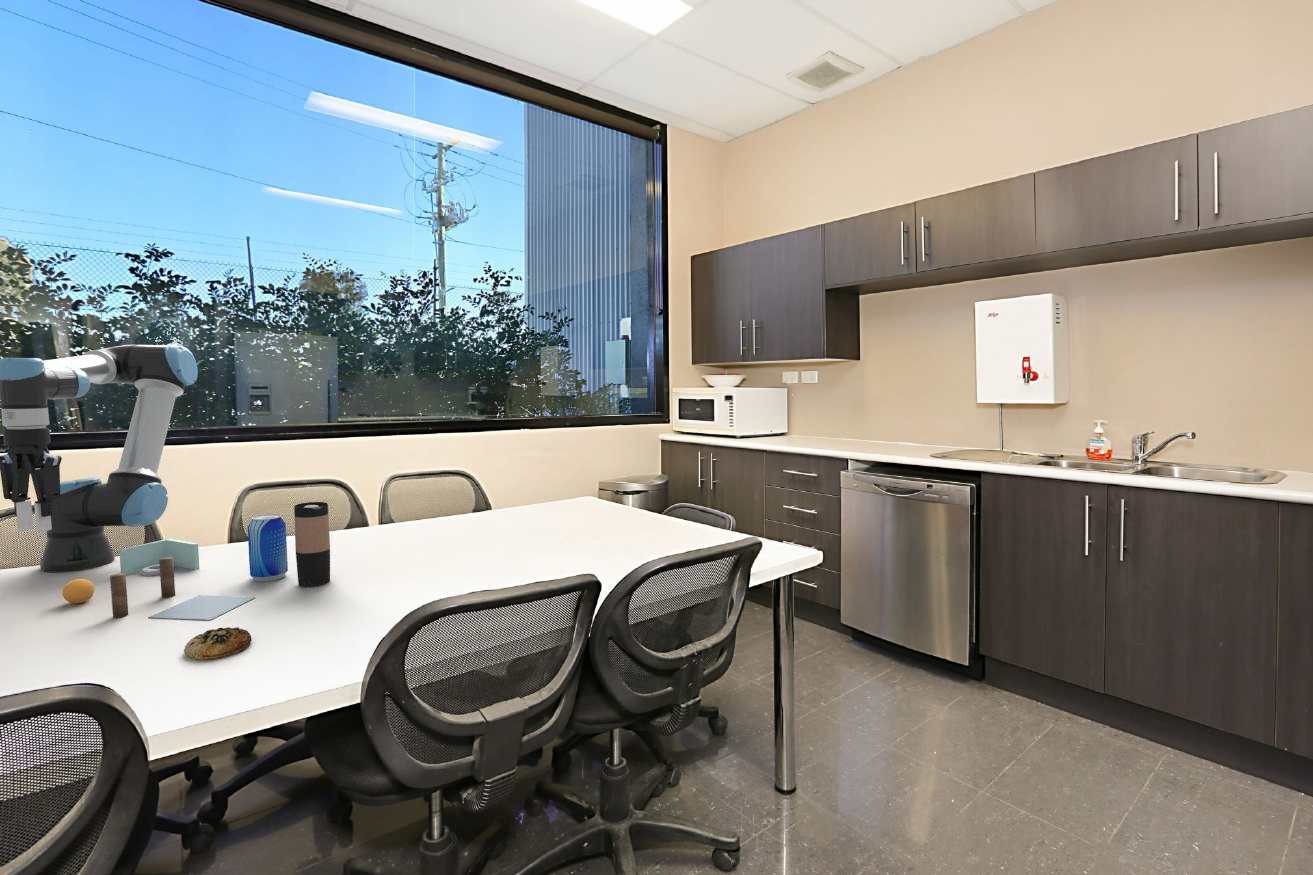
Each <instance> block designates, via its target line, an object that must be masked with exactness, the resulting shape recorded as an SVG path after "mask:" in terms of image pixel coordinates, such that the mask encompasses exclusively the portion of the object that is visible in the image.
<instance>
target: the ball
mask: <svg viewBox="0 0 1313 875" xmlns="http://www.w3.org/2000/svg"><path fill="white" fill-rule="evenodd" d="M95 588H96V587H95V585H94V582H92V581H90V580H89V579H85V578H76V579H72V580H71V581H69V582H68V583H66V584H65V585H64V586H63V589H62V592H61V593H62V597H63V599H64V600H65V601H66V602H67V603H70V604H81V603H85V602H87V601H89V600H90V599H91V598H92V597H93V596H94V593H95V590H96V589H95Z"/></svg>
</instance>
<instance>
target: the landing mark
mask: <svg viewBox="0 0 1313 875" xmlns="http://www.w3.org/2000/svg"><path fill="white" fill-rule="evenodd" d="M254 599H256V597H255V596H234V595H233V596H232V595H231V596H230V595H206V594H205V595H204V594H198V595H196V596H193V597H192V598H189V599H186V600H184V601H182V602H180V603H178V604H176V605H172V606H171V607H169V608H166V609H164V610H162V611H159V612H156V613H155V614H152V615H150V616H148V617H147V618H148V619H162V620H165V619H166V620H189V621H190V620H191V621H209V622H210V621H212V620H214V619H217V618H219V617H220V616H222V615H224V614H226V613H228V612H230V611H232V610H235V609H236V608H238V607H240V606H242V605H244V604H246V603H248V602H250V601H252V600H254Z"/></svg>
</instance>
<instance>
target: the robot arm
mask: <svg viewBox="0 0 1313 875" xmlns="http://www.w3.org/2000/svg"><path fill="white" fill-rule="evenodd" d="M197 364H198V363H197V361H196V358H195V357H194V355H193V353H192V352H191V351H190V350H189V349H188V348H187V347H184V346H182V345H172V344H166V345H163V344H161V345H159V344H157V345H156V344H155V345H153V344H123V345H117V346H110V347H106V348H105V347H104V348H100V349H94V350H89V351H87V352H84V353H83V354H82V355H77V356H67V357H61V358H55V359H53V358H52V359H44V360H43V359H42V358H39V357H36V358H35V357H2V358H0V410H1V420H2V423H1V424H2V426H3V427H6V428H5V429H3V430H2V434H3V435H2V436H3V437H2V438H3V444H4V446H7V447H8V450H7V453H6V454H5V453H4V454H3V455H0V478H1V486H2V493H3V498H4V500H11V502H12V503H13V506H14V508H13V509H14V515H15V516H16V521H17V532H25V531H29V530H34V527H35V530H36V531H35V532H36V533H41V532H46V544H45V546H44V549H43V553H42V557H41V558H40V560H39V567H40V571H42V572H44V573H64V572H65V573H66V572H74V571H75V572H76V571H81V570H83V571H84V570H86V569H92V568H96V567H97V568H98V567H102V566H104V565H105V566H106V565H108V564H110V563H112V562H113V561H115V559H116V558H115V551H114V549H113V548H112V547H111V543H110V542H109V540H108V538H107V536H106V533H105V527H129V528H133V527H134V528H135V527H139V526H140V527H141V526H142V527H143V526H149V525H152V524H154V523H155V522H157V521H158V520H159V519H160V518H161V517H162V516H163V514H164V513H165V511H166V509H167V507H168V504H169V503H168V502H169V496H168V490H167V488H166V486H164V484H162V482H163V479H162V478H161V477H160V476H159V475H158V471H159V467H160V462H161V459H162V454H163V450H164V446H165V442H166V438H167V434H168V430H169V426H170V422H171V418H172V414H173V410H174V406H175V402H176V399H177V398H178V397H181V396H182V395H183V394H184V392H185V387H186V386H187V387H188V386H191V385H194V384H195V383H196V382H197V379H198V374H199V371H198V370H199V368H198V365H197ZM91 383H92V384H95V385H105V384H121V385H122V384H125V385H134V387H135V388H136V389H137V390H138V393H137V398H136V401H135V405H134V409H133V413H132V416H131V420H130V424H129V428H128V431H127V434H126V438H125V442H124V446H123V449H122V453H121V458H120V460H119V464H118V467H117V469H116V470H113V471H112V472H110V473H109V475H108V479H107V481H106V482H105V483H102V480H101V478H100V477H87V478H78V479H74V480H67V481H66V480H65V481H63V482H62V481H61V473H60V470H61V468H60V467H61V463H62V459H63V458H62V456H60V455H53V454H51V453H50V451H49V448H48V445H49V444H50V443H51V441H52V440H51V431H50V428H49V427H47V426H49V425H50V417H49V416H50V414H49V406H48V400H72V399H78V398H82V397H83V396H85V395H86V394H87V393H88V392H89V390H90V388H91ZM30 478H31V481H32V484H33V489H34V492H35V497H36V499H37V500H36V501H35V500H34V505H33V504H32V500H31V497H29V487H30V486H29V485H30ZM32 505H33V506H34V514H35V515H34V516H35V526H34V517H33V506H32Z"/></svg>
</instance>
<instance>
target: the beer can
mask: <svg viewBox="0 0 1313 875" xmlns="http://www.w3.org/2000/svg"><path fill="white" fill-rule="evenodd" d="M286 524H287V523H286V522H285V520H284V519H283V517H282V515H281V514H280V513H266V514H258V515H255V516H252V517H251V520H250V522H249V524H248V525H247V540H248V541H247V542H248V562H249V563H248V564H249V576H250V577H251V578H252V579H253V580H254V582H272V581H276V580H280V579H282V577H283V578H284V577H285V576H286V574H287V572H288V570H289V568H288V567H289V564H288V546H287V525H286Z"/></svg>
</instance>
